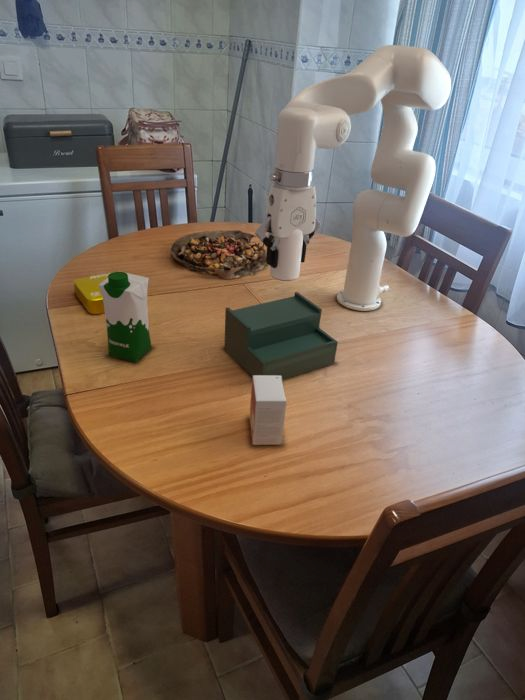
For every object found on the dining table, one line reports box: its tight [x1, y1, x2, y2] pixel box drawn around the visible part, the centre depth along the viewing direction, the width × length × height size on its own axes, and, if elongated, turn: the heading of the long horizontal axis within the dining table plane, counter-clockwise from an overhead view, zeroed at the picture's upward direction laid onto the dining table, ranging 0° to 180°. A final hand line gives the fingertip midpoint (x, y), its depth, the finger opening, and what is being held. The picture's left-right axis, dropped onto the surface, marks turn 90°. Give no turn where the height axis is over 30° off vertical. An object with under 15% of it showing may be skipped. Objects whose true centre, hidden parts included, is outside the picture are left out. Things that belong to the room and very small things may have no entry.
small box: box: [249, 375, 287, 446], centre depth 95 cm, size 8×6×10 cm
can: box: [269, 226, 304, 282], centre depth 108 cm, size 6×6×12 cm
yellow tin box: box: [73, 270, 128, 315], centre depth 138 cm, size 15×15×5 cm
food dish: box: [169, 229, 267, 280], centre depth 168 cm, size 35×33×8 cm
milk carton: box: [99, 271, 152, 363], centre depth 113 cm, size 9×9×20 cm
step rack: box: [223, 291, 338, 381], centre depth 118 cm, size 17×20×11 cm
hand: (285, 262), depth 110 cm, fingers closed on can, 6 cm apart
